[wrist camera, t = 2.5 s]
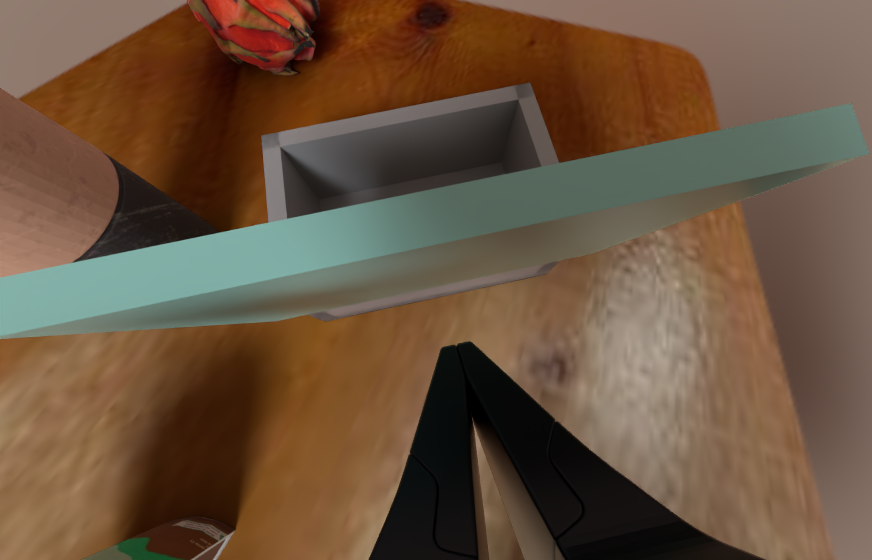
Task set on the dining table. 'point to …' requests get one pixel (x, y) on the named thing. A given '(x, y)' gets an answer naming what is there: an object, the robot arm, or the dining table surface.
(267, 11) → the dragon fruit
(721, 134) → the mint green lid
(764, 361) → the dining table surface
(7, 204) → the travel mug
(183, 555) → the food container
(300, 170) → the grey rectangular box
